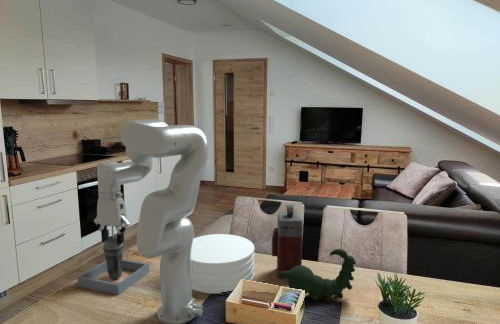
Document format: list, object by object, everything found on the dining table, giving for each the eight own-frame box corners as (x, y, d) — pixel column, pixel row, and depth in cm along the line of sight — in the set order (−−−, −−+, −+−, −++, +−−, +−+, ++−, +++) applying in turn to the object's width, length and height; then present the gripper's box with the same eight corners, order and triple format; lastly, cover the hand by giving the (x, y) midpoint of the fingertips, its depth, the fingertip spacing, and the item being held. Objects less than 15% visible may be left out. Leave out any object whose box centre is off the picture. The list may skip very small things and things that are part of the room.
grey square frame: (149, 272, 142) (149, 263, 142) (118, 294, 125) (118, 285, 125) (112, 265, 148) (111, 257, 147) (78, 286, 131) (77, 277, 131)
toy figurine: (345, 295, 129) (275, 287, 129) (353, 245, 125) (281, 237, 126) (351, 310, 119) (276, 302, 120) (360, 256, 116) (282, 248, 117)
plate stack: (256, 261, 153) (257, 235, 151) (250, 296, 125) (250, 265, 123) (192, 258, 155) (191, 232, 154) (172, 291, 128) (171, 261, 126)
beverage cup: (103, 281, 132) (100, 229, 129) (106, 272, 139) (102, 223, 136) (124, 279, 134) (121, 227, 131) (126, 270, 141) (123, 221, 138)
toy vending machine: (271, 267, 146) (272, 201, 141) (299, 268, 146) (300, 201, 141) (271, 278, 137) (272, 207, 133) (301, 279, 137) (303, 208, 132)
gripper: (136, 194, 132) (138, 241, 135) (98, 190, 138) (101, 235, 140) (122, 199, 125) (125, 248, 128) (83, 195, 131) (87, 242, 133)
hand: (113, 241), depth 134 cm, fingers closed on beverage cup, 6 cm apart
